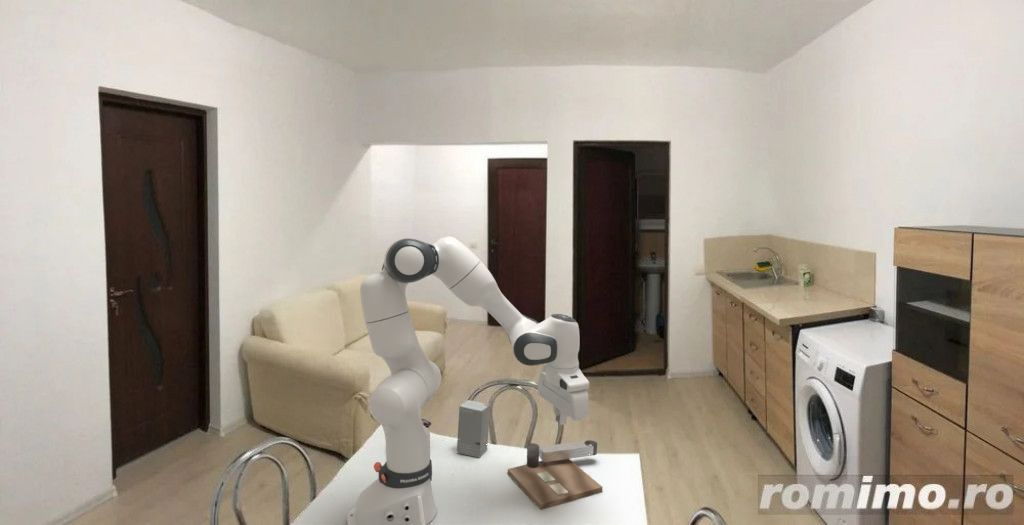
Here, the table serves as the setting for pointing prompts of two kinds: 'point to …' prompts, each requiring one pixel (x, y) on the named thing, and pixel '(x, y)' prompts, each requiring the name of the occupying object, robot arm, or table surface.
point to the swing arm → (567, 450)
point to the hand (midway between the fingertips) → (560, 422)
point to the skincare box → (473, 428)
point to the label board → (552, 480)
